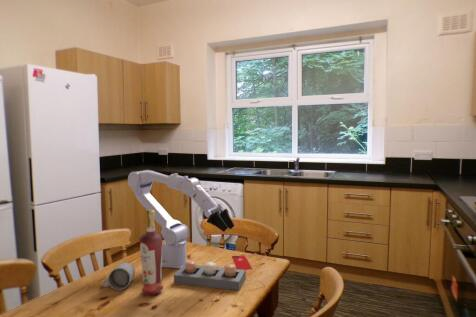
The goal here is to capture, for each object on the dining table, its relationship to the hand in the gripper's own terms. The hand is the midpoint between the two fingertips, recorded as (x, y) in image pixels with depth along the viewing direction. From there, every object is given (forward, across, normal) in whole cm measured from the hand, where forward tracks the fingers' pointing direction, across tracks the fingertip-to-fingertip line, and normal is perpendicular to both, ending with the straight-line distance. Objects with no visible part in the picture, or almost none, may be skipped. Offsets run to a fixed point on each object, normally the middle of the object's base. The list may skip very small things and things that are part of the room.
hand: (229, 228), depth 122 cm
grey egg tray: (+9, -4, +17) cm, 20 cm away
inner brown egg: (+1, -5, +20) cm, 21 cm away
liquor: (-1, -18, +29) cm, 34 cm away
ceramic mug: (-12, -16, +39) cm, 44 cm away
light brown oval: (+12, -4, +10) cm, 16 cm away
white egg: (+7, -4, +15) cm, 17 cm away
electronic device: (+11, +16, +12) cm, 22 cm away
